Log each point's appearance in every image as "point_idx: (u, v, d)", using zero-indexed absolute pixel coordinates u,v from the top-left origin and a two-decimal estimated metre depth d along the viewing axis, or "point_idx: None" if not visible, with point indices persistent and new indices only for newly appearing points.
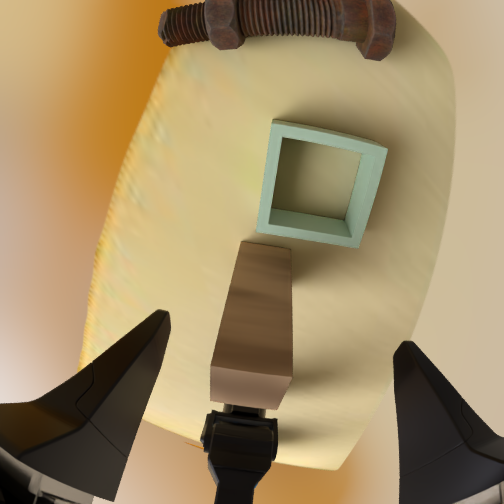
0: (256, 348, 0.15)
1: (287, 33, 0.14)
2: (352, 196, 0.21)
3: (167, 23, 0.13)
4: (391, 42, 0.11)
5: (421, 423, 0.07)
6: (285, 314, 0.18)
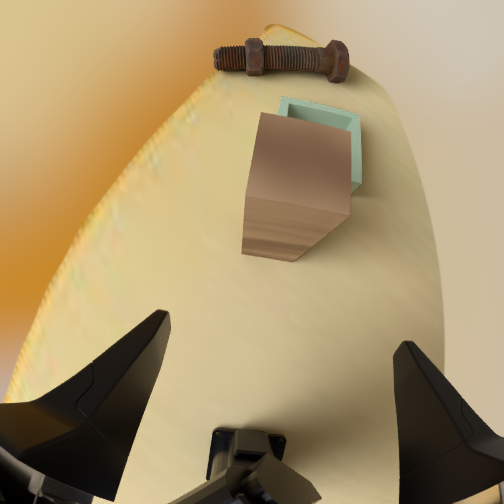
0: None
1: (290, 64, 0.26)
2: None
3: (221, 49, 0.24)
4: (348, 59, 0.24)
5: (421, 423, 0.07)
6: None
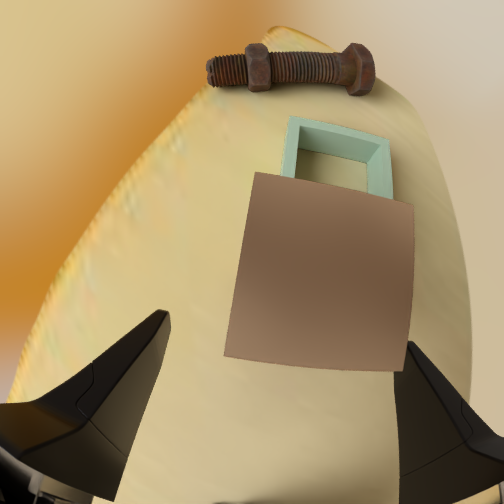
0: None
1: (303, 75, 0.21)
2: None
3: (215, 60, 0.20)
4: (373, 67, 0.19)
5: (421, 423, 0.07)
6: None
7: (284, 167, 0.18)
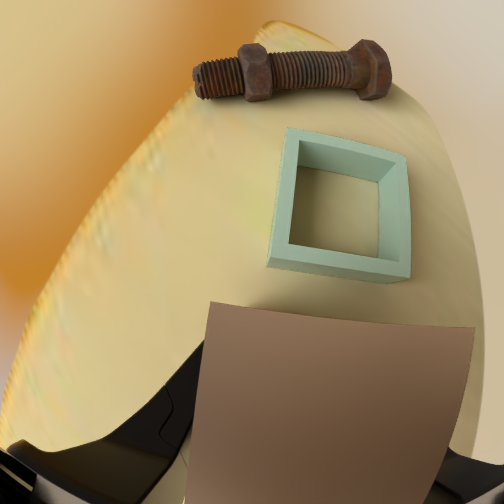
0: None
1: (310, 79, 0.17)
2: (380, 234, 0.17)
3: (203, 67, 0.16)
4: (390, 68, 0.16)
5: None
6: None
7: (280, 195, 0.15)
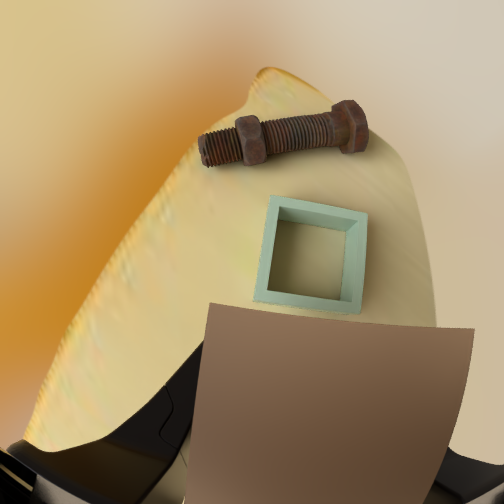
0: None
1: (297, 145, 0.23)
2: (343, 275, 0.23)
3: (207, 140, 0.22)
4: (367, 129, 0.22)
5: None
6: None
7: (262, 253, 0.20)
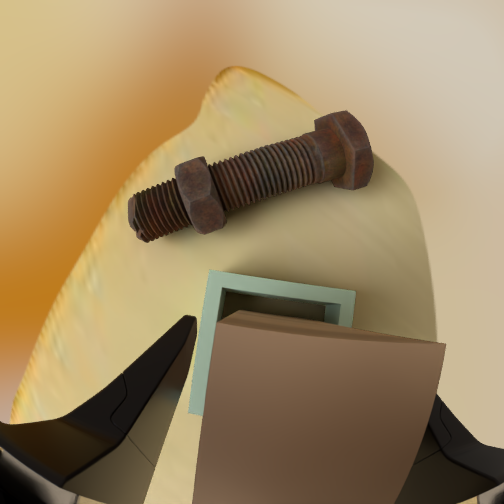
0: (329, 332, 0.06)
1: (270, 192, 0.16)
2: None
3: (138, 208, 0.15)
4: (371, 154, 0.15)
5: None
6: (348, 328, 0.09)
7: (197, 356, 0.14)
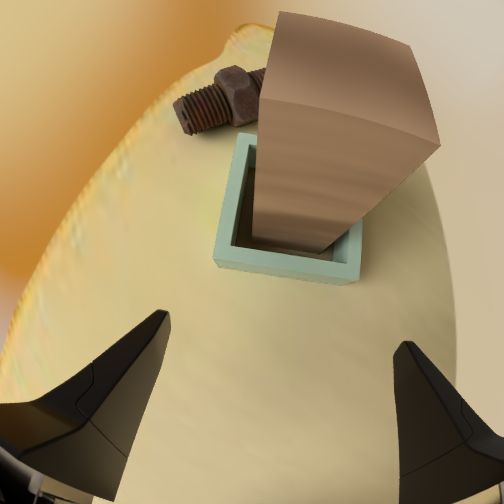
0: None
1: None
2: None
3: (186, 102, 0.16)
4: None
5: (421, 423, 0.07)
6: None
7: (225, 199, 0.15)
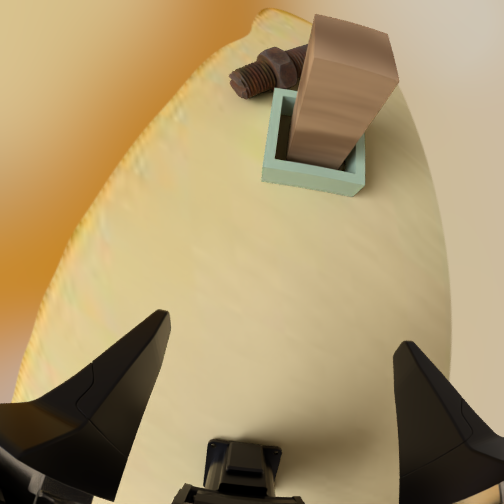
0: None
1: None
2: (346, 161, 0.23)
3: (243, 73, 0.21)
4: None
5: (421, 423, 0.07)
6: None
7: (269, 130, 0.20)
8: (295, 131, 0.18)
